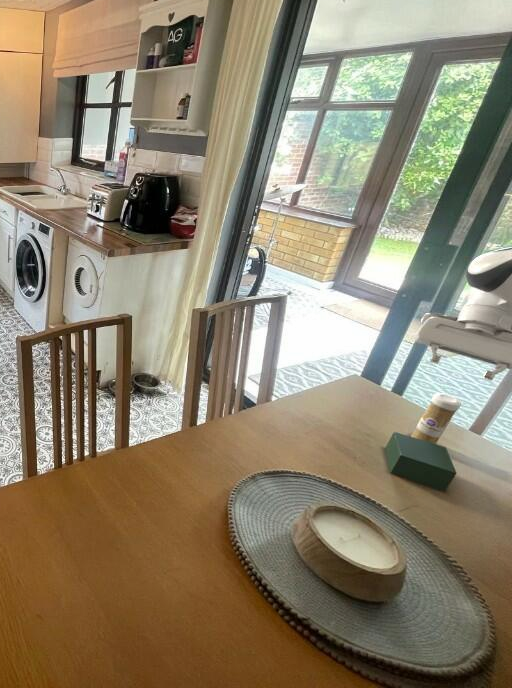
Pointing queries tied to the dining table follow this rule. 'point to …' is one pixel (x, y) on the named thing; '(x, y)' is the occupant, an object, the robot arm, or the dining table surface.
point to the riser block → (420, 461)
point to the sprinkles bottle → (436, 418)
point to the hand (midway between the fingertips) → (459, 370)
